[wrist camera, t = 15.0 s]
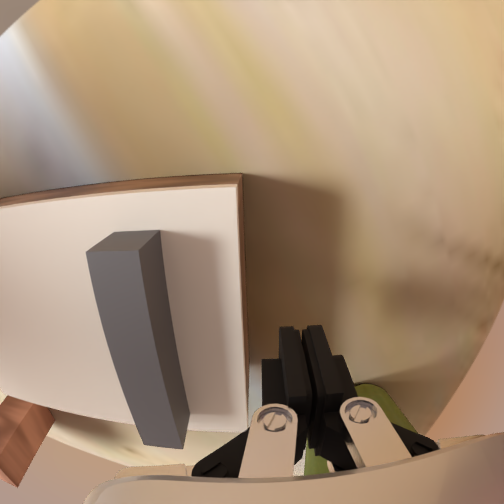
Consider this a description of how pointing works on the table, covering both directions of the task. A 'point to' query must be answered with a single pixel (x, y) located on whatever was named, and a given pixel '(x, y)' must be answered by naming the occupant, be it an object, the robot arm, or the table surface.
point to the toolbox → (160, 183)
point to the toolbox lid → (127, 309)
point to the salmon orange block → (20, 436)
